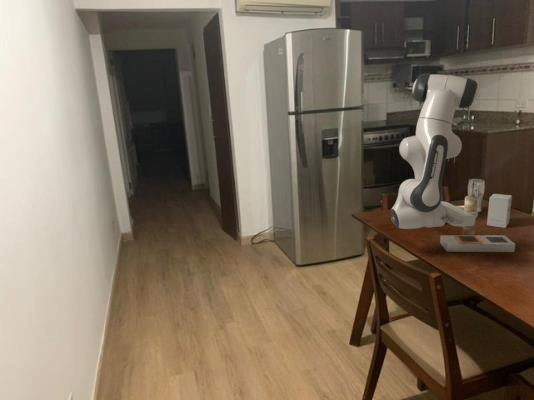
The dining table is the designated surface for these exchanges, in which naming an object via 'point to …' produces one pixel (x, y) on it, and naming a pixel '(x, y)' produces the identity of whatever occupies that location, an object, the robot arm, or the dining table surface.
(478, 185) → the beer glass
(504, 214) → the supplement box
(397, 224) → the robot arm
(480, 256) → the dining table surface
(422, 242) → the dining table surface
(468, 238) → the board
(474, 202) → the peg
